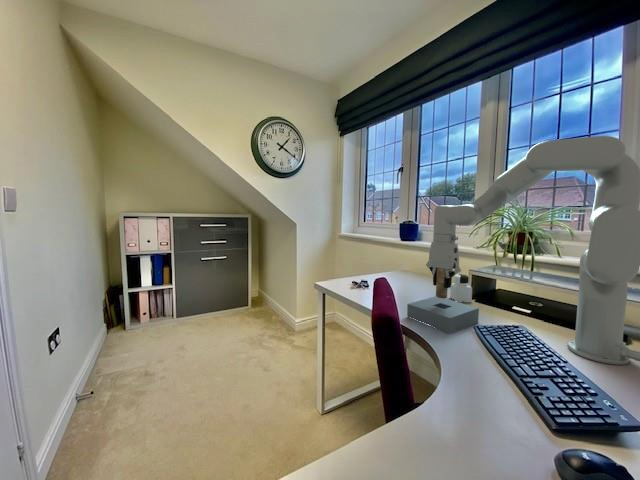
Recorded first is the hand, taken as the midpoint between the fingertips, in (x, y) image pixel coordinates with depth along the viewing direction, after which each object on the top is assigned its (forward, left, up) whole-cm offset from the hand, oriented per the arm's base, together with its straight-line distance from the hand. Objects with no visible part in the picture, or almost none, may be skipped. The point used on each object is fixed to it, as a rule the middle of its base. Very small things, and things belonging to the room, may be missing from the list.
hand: (441, 285), depth 105 cm
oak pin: (0, 0, -4) cm, 4 cm away
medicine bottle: (+10, -29, -14) cm, 34 cm away
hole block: (0, 0, -13) cm, 13 cm away
